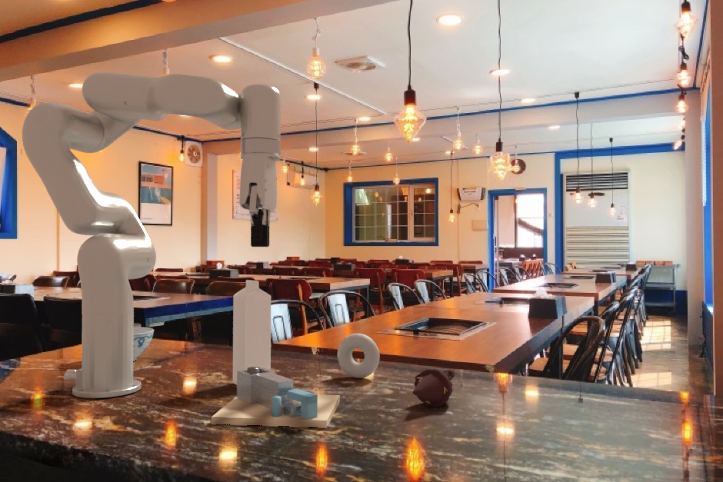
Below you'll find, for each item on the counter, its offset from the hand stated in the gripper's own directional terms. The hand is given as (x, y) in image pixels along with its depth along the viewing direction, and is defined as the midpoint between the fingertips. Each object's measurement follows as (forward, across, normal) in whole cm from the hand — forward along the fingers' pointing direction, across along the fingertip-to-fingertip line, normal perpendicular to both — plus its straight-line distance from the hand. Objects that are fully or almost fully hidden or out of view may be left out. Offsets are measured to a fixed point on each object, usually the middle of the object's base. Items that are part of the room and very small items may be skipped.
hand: (260, 246), depth 108 cm
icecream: (+29, +1, +33) cm, 44 cm away
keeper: (+29, +14, +10) cm, 34 cm away
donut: (+29, -20, +17) cm, 39 cm away
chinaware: (+29, -33, -45) cm, 63 cm away
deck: (+29, +8, +6) cm, 31 cm away
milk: (+29, -12, -5) cm, 32 cm away
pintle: (+28, +4, 0) cm, 28 cm away
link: (+28, +8, +5) cm, 29 cm away
